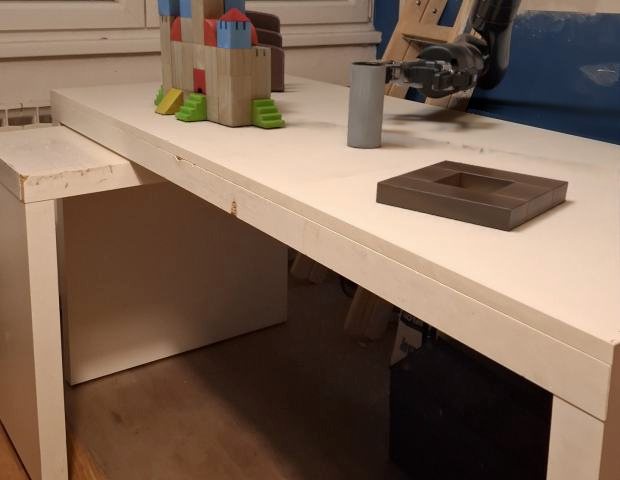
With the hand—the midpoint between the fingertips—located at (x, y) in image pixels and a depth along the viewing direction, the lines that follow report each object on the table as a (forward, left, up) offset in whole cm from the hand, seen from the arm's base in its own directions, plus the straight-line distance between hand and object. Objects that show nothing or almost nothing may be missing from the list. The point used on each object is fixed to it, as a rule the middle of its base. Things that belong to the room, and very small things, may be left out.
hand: (406, 79), depth 101 cm
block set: (+4, -32, -8) cm, 33 cm away
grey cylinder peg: (+7, -2, -8) cm, 11 cm away
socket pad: (+23, +22, -8) cm, 33 cm away
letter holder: (-21, -52, -8) cm, 57 cm away
